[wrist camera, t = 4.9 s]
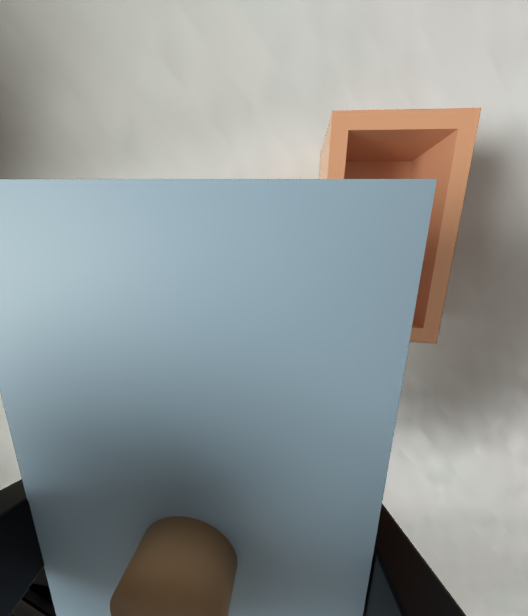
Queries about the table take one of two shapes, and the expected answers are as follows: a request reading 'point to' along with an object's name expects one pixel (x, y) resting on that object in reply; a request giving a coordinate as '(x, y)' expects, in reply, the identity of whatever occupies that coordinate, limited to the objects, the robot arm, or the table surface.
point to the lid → (207, 385)
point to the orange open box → (411, 165)
